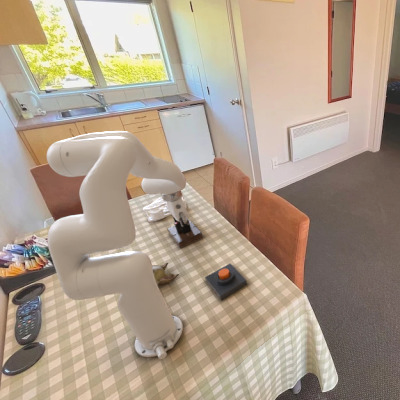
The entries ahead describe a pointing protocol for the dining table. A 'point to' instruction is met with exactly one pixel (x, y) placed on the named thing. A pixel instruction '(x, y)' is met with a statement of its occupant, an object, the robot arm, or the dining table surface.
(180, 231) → the handle
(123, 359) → the dining table surface
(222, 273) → the button
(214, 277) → the button block
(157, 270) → the ceramic sculpture
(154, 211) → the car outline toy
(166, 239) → the dining table surface
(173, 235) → the panel
